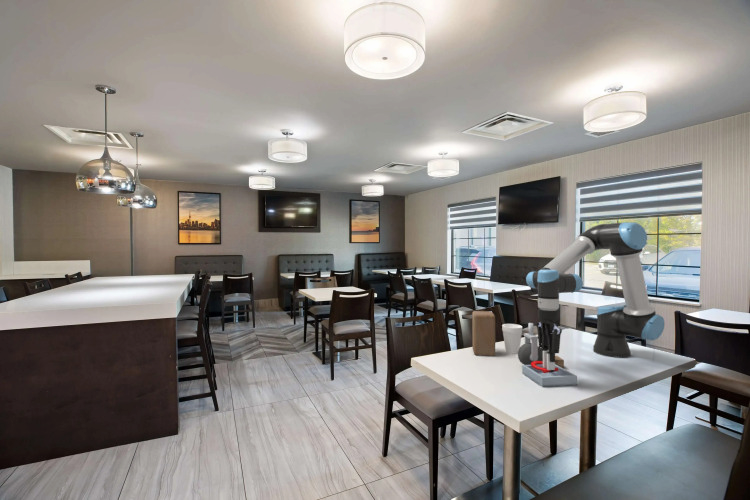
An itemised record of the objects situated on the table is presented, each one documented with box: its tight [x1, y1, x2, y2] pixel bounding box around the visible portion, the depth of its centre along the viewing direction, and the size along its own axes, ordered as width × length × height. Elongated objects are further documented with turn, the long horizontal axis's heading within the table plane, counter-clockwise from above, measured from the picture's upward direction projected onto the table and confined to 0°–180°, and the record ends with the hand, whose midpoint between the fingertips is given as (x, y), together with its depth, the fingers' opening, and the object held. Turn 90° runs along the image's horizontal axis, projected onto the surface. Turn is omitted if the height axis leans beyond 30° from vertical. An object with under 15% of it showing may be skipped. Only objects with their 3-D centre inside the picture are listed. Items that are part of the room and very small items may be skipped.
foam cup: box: [501, 323, 523, 355], centre depth 172 cm, size 10×9×13 cm
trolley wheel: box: [517, 322, 543, 365], centre depth 150 cm, size 10×6×19 cm, turn 96°
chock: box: [555, 355, 565, 369], centre depth 151 cm, size 7×6×4 cm
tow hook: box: [531, 361, 559, 373], centre depth 139 cm, size 8×13×9 cm
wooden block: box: [471, 310, 496, 357], centre depth 170 cm, size 10×10×20 cm
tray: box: [521, 364, 578, 388], centre depth 136 cm, size 14×14×4 cm
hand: (548, 368), depth 136 cm, fingers open, 2 cm apart
